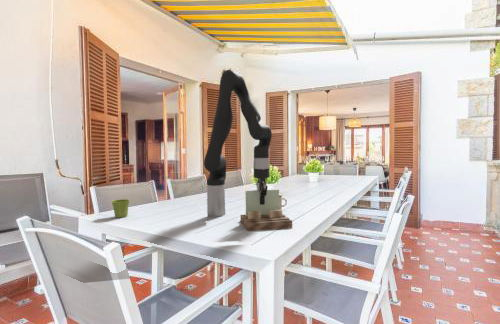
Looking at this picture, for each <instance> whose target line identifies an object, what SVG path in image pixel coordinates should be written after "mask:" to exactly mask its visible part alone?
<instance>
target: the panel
mask: <svg viewBox="0 0 500 324" xmlns="http://www.w3.org/2000/svg"><path fill="white" fill-rule="evenodd" d="M279 194H280V189H279V188H278V189H277V188H276V189H267V193H266V196H265V204H264V205H260V196H259V195H260V192H259V190H257V189H256V190H254V189H253V190H245V215H246V216H248V212H249V211H261V215H270V212H269V210H279Z"/></svg>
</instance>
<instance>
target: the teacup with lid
mask: <svg viewBox="0 0 500 324" xmlns="http://www.w3.org/2000/svg"><path fill="white" fill-rule="evenodd" d="M282 200H284V201H285V202H284V203H285V204H284V205H282V203H283V201H282ZM287 204H288V201H287V198H285V197H283V196H282V194H281V193H279V210H282V208H283V207H286V206H287ZM282 211H283V210H282Z"/></svg>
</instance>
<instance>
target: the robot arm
mask: <svg viewBox="0 0 500 324" xmlns="http://www.w3.org/2000/svg"><path fill="white" fill-rule="evenodd" d="M218 90H219V91H218V99H217V105H216V110H215V115H214V119H213V122H212V130H211V135H210V139H209V143H208V147H207V151H206V153H205V157H204V162H203V167H204V168H205V170H206V171H207V172H209V175H208V178H207V180H206V196H207V197H206V198H207V199H206V216H207V218H212V217H213V218H215V217H218V218H219V217H224V216H225V215H226V190H225V189H226V186H225V185H226V179H227V160H226V158H225V156H224V155H223V154H222V150H223V148H224V145H225V142H226V141H227V139H228V136H229V134H230V133H231V130H232V124H233V120H234V115H233V109H232V102H231V99H232V93H233V92H234V94H235V95H236V96H237V98H238V100H239V104H240V111H241V113H242V116H243V117H244V119H245V121H246V124H247V128H248V132H249V135H250V136H251V138H252V139H253V140H255V141H258V144H256V145H255V146H254V147H253V162H252V163H253V178H255V179H257V181H256V182H255V185H256V190H259V192H260V195H259V196H260V205H264V204H265V196H266V193H267V190H268V184H267V183H268V182H267V181H266V179H269V178H270V157H269V156H270V155H269V154H270V153H269V152H270V151H269V150H270V145H271V141H272V136H273V134H272V129H271V127H270V126H269V125H267V124H260V121H261V117H262V116H261V114H260V112H259V111H258V109H257V107H256V106H255V103H254V102H253V100H252V98H251V95H250V92H249V89H248V87H247V84H246V81H245V79H244V77H243V76H242V74H240V73H238V72H236V71H234V70H231V69H227V70H225V71H223V73H222V74H221V77H220V82H219V89H218Z"/></svg>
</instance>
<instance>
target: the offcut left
mask: <svg viewBox="0 0 500 324" xmlns="http://www.w3.org/2000/svg"><path fill="white" fill-rule="evenodd" d="M260 218H261V211H249V212H248V219H260Z"/></svg>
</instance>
